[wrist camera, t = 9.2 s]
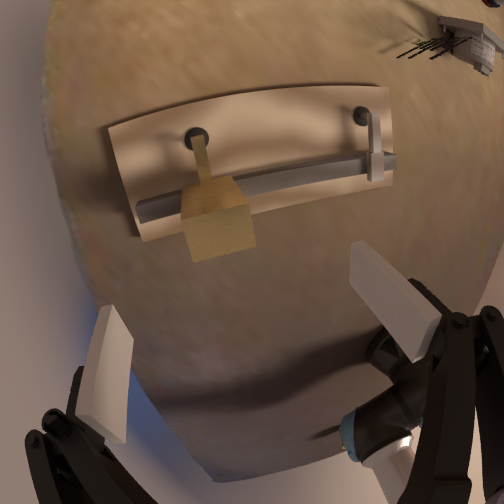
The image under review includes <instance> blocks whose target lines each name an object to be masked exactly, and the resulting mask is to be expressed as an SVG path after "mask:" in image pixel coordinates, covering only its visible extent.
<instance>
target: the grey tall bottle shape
mask: <svg viewBox="0 0 504 504" xmlns="http://www.w3.org/2000/svg"><path fill="white" fill-rule="evenodd" d="M483 2H484V3H485V4H486V5H487V6H488V7H496V8H497V7H500V5H504V0H483Z"/></svg>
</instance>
